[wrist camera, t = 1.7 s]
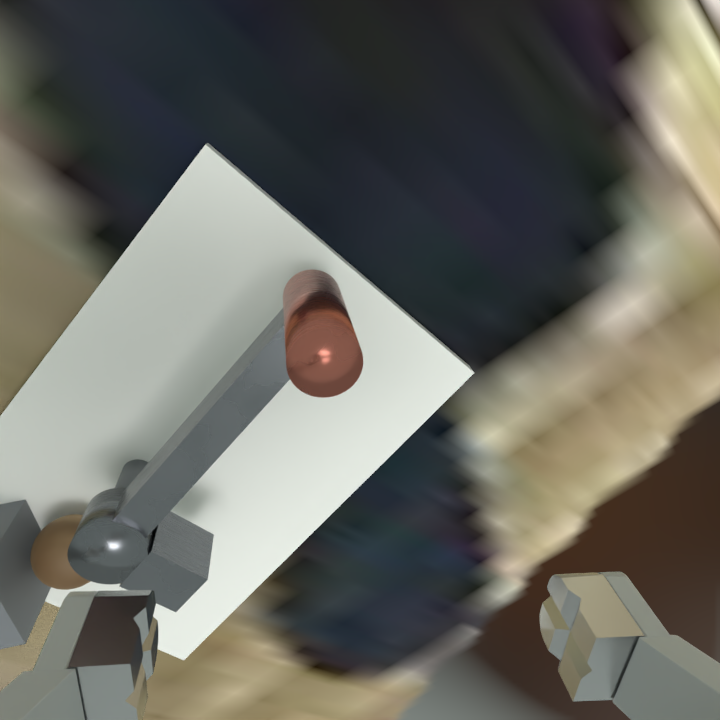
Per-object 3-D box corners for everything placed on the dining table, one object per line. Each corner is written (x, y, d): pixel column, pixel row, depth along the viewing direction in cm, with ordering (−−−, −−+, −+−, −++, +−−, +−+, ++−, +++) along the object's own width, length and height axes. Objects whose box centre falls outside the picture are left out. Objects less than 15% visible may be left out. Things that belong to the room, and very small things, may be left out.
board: (186, 646, 45) (171, 738, 38) (-85, 529, 37) (-160, 620, 30) (468, 365, 38) (509, 420, 31) (207, 142, 30) (189, 154, 23)
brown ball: (94, 562, 39) (73, 616, 35) (32, 533, 37) (2, 586, 33) (131, 520, 38) (114, 571, 34) (69, 488, 36) (44, 537, 32)
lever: (180, 570, 35) (156, 691, 28) (74, 517, 32) (17, 636, 25) (402, 335, 30) (442, 408, 23) (300, 250, 28) (310, 304, 21)
